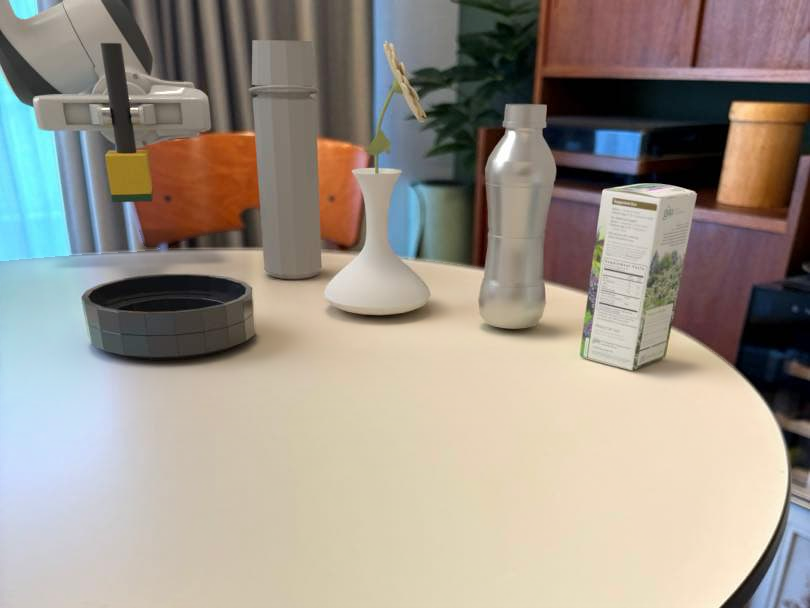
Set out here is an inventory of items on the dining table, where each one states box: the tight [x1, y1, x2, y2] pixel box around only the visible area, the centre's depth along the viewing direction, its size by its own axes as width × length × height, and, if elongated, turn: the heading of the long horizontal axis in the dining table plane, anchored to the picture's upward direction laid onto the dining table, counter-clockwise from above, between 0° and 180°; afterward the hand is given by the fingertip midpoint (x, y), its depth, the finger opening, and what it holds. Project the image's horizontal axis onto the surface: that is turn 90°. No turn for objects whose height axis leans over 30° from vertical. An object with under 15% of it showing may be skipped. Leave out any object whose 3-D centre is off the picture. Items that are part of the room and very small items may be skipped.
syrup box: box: [579, 183, 698, 371], centre depth 72 cm, size 6×6×14 cm
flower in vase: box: [323, 39, 432, 316], centre depth 83 cm, size 13×11×25 cm
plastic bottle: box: [478, 103, 557, 330], centre depth 79 cm, size 6×7×20 cm
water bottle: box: [248, 39, 323, 280], centre depth 98 cm, size 9×8×25 cm
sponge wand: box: [101, 43, 154, 203], centre depth 95 cm, size 4×6×16 cm
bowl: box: [80, 273, 256, 361], centre depth 78 cm, size 15×15×4 cm
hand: (121, 116), depth 94 cm, fingers closed on sponge wand, 2 cm apart
